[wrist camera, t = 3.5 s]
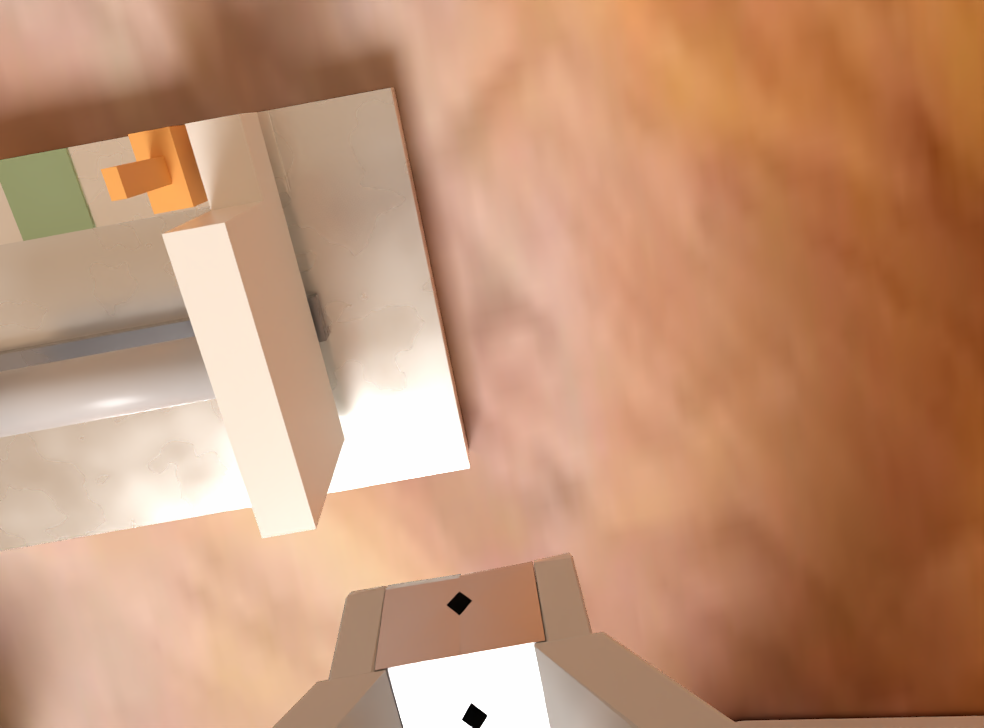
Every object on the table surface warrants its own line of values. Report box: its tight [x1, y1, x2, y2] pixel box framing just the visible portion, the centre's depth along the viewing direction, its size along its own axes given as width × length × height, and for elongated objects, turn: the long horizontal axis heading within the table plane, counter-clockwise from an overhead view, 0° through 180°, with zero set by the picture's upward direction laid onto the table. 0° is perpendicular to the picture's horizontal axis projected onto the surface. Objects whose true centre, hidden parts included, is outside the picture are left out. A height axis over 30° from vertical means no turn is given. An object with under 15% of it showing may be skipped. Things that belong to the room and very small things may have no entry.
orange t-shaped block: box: [101, 125, 208, 214], centre depth 21 cm, size 1×2×6 cm, turn 10°
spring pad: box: [0, 112, 345, 538], centre depth 23 cm, size 11×12×6 cm
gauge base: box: [0, 88, 470, 551], centre depth 24 cm, size 28×14×8 cm, turn 100°
